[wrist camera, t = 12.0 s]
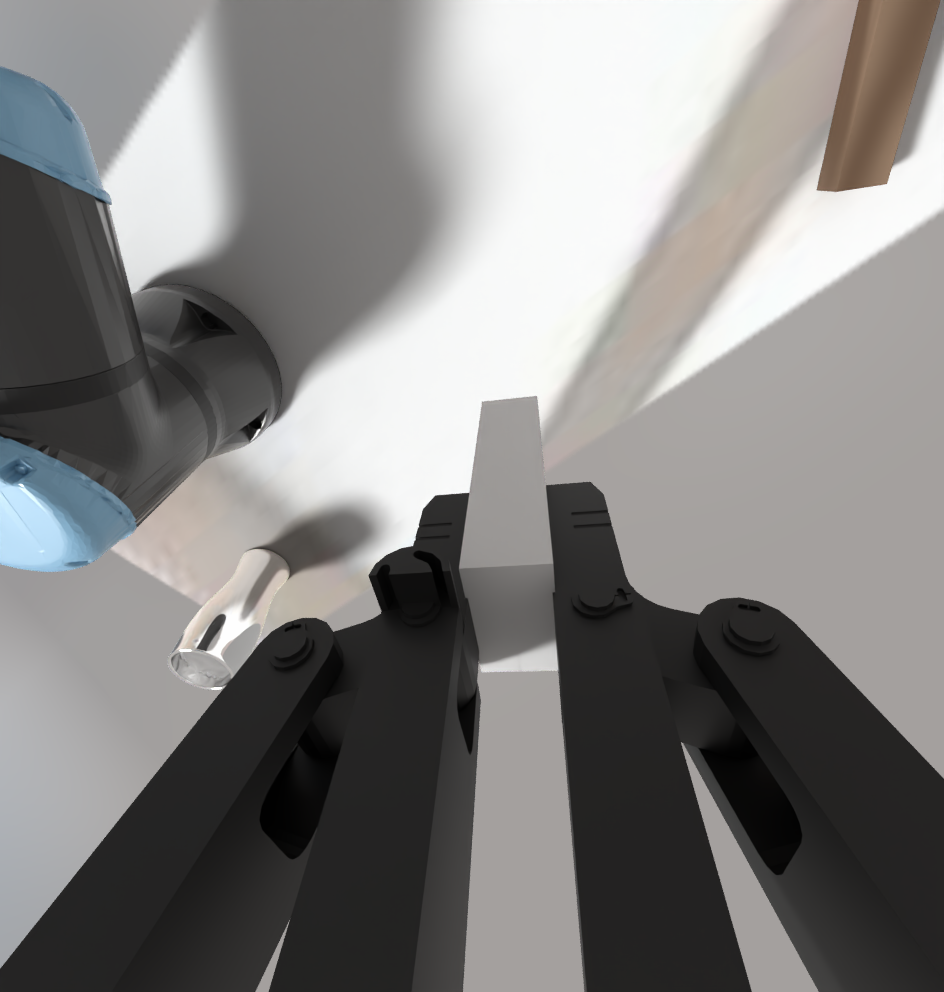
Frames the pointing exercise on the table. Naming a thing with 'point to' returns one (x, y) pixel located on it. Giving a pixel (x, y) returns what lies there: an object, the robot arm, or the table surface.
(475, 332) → the table surface
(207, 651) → the beer glass
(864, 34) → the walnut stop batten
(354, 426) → the table surface
